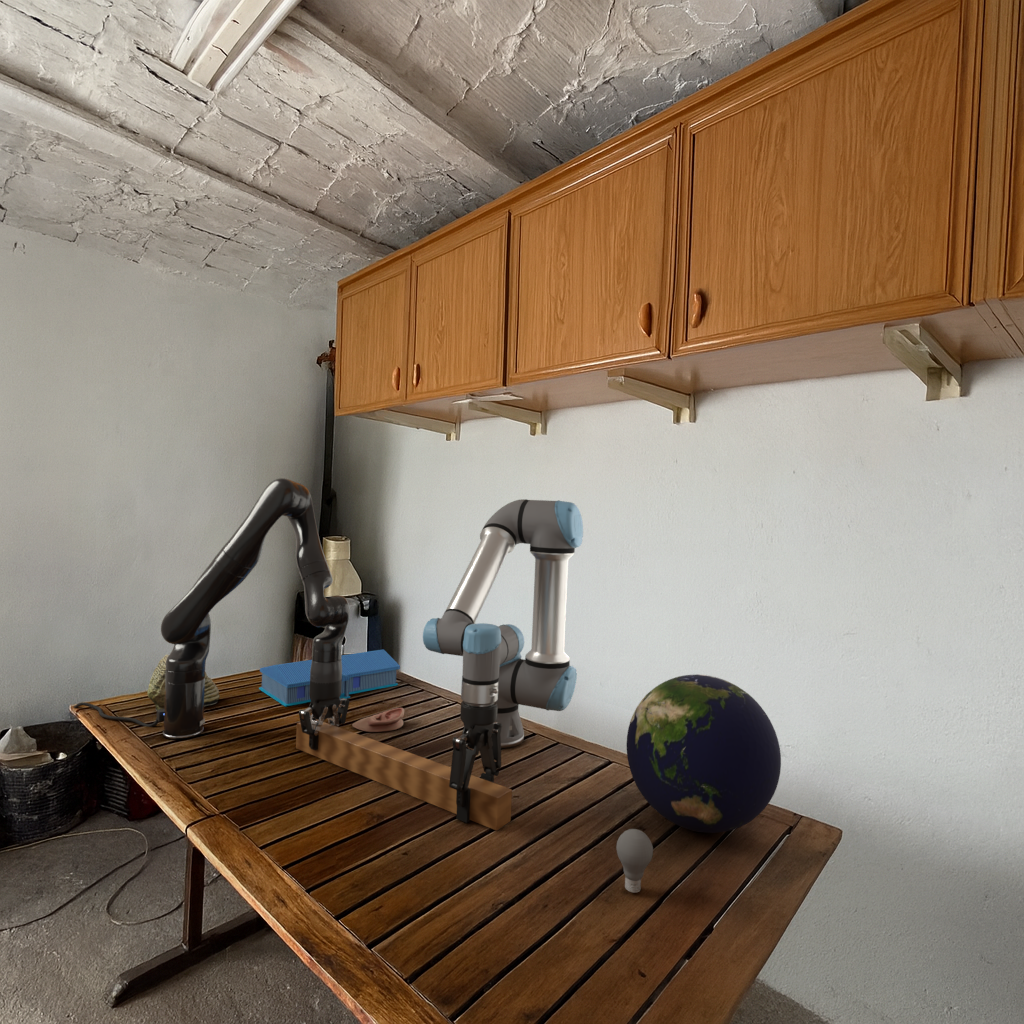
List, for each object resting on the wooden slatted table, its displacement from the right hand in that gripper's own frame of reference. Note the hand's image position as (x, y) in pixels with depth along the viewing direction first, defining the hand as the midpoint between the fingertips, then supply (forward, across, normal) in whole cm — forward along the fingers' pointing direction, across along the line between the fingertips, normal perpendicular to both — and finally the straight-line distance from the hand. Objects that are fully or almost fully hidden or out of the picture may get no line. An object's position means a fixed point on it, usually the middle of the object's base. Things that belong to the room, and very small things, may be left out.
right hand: (474, 812), depth 129 cm
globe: (0, +26, -38) cm, 46 cm away
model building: (0, +36, +87) cm, 94 cm away
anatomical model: (0, +22, +51) cm, 56 cm away
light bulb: (0, -4, -36) cm, 37 cm away
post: (0, 0, +24) cm, 24 cm away
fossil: (0, -4, +104) cm, 104 cm away
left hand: (-2, 0, +47) cm, 47 cm away
